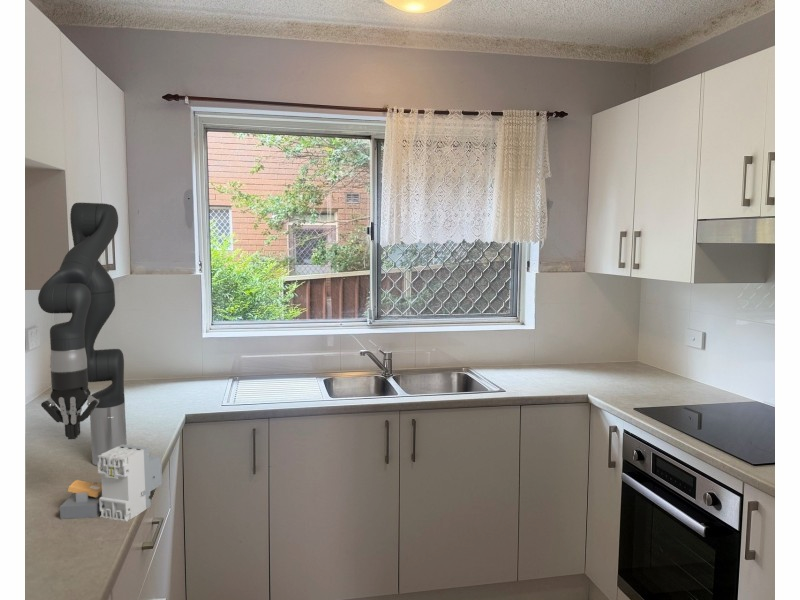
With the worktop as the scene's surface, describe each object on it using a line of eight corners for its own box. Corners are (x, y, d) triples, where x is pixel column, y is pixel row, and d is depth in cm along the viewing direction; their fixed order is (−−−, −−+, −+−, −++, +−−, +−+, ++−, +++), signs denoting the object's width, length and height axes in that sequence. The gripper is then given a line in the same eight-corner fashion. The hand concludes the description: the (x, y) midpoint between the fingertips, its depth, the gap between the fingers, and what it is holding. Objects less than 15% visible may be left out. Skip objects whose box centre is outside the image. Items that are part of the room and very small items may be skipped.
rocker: (74, 486, 140) (76, 479, 140) (103, 492, 141) (104, 485, 141) (67, 493, 136) (69, 486, 136) (96, 499, 137) (98, 492, 137)
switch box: (79, 499, 143) (78, 480, 143) (112, 498, 144) (111, 479, 144) (60, 519, 134) (59, 498, 133) (96, 517, 135) (95, 496, 134)
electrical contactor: (167, 495, 146) (165, 438, 145) (126, 521, 133) (123, 459, 131) (142, 491, 148) (140, 435, 147) (100, 517, 135) (97, 455, 133)
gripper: (104, 363, 140) (108, 432, 141) (47, 364, 138) (51, 434, 140) (92, 370, 132) (95, 442, 134) (31, 371, 131) (35, 444, 132)
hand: (73, 438), depth 137 cm, fingers closed
